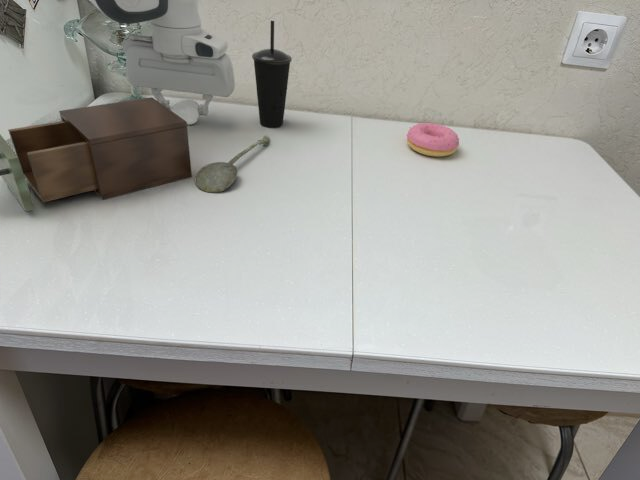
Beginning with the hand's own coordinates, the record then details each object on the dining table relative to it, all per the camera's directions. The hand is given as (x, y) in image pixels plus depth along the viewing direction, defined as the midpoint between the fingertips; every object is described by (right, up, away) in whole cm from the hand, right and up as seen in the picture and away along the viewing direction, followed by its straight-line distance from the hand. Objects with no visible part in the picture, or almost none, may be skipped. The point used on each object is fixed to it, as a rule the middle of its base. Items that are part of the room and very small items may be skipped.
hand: (184, 112), depth 100 cm
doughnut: (+50, -7, +3) cm, 51 cm away
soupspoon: (+14, -13, -12) cm, 23 cm away
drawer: (-12, -19, -26) cm, 34 cm away
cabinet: (-2, -16, -18) cm, 24 cm away
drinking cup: (+17, -1, +5) cm, 18 cm away
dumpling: (0, -1, +1) cm, 2 cm away
